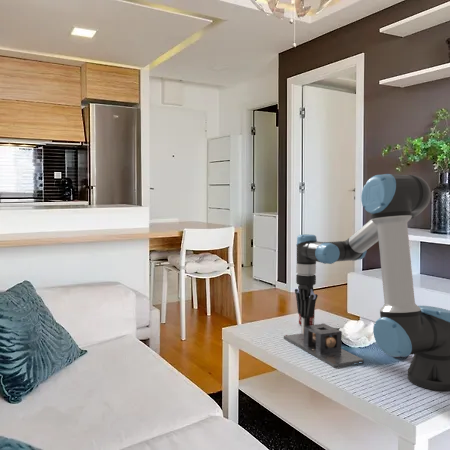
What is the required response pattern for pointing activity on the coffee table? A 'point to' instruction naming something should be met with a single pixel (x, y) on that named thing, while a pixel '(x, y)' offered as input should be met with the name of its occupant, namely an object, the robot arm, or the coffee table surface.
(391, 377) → the coffee table surface
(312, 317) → the soda can
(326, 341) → the wooden dowel
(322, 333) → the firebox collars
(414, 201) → the robot arm
